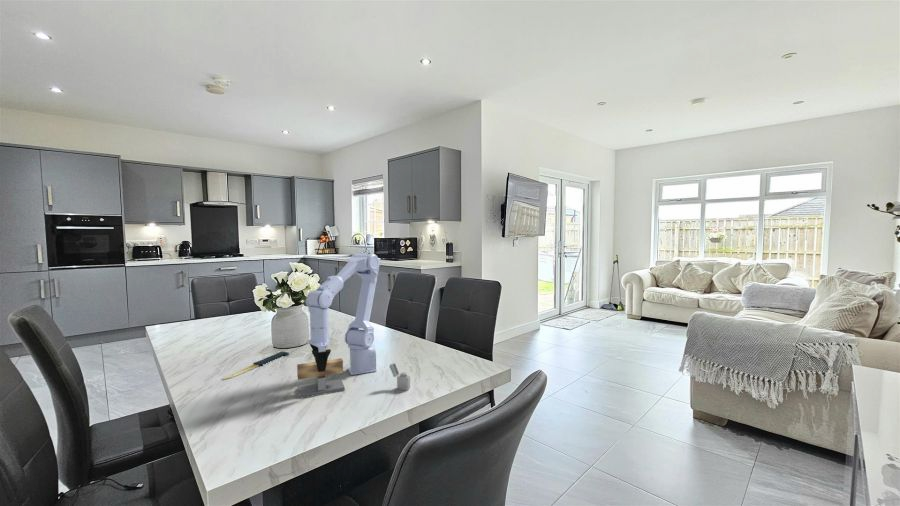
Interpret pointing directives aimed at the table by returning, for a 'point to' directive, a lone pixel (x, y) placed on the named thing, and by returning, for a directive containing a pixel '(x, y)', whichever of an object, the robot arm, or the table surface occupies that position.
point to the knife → (257, 364)
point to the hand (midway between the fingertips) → (320, 367)
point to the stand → (320, 387)
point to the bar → (311, 369)
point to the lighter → (400, 378)
